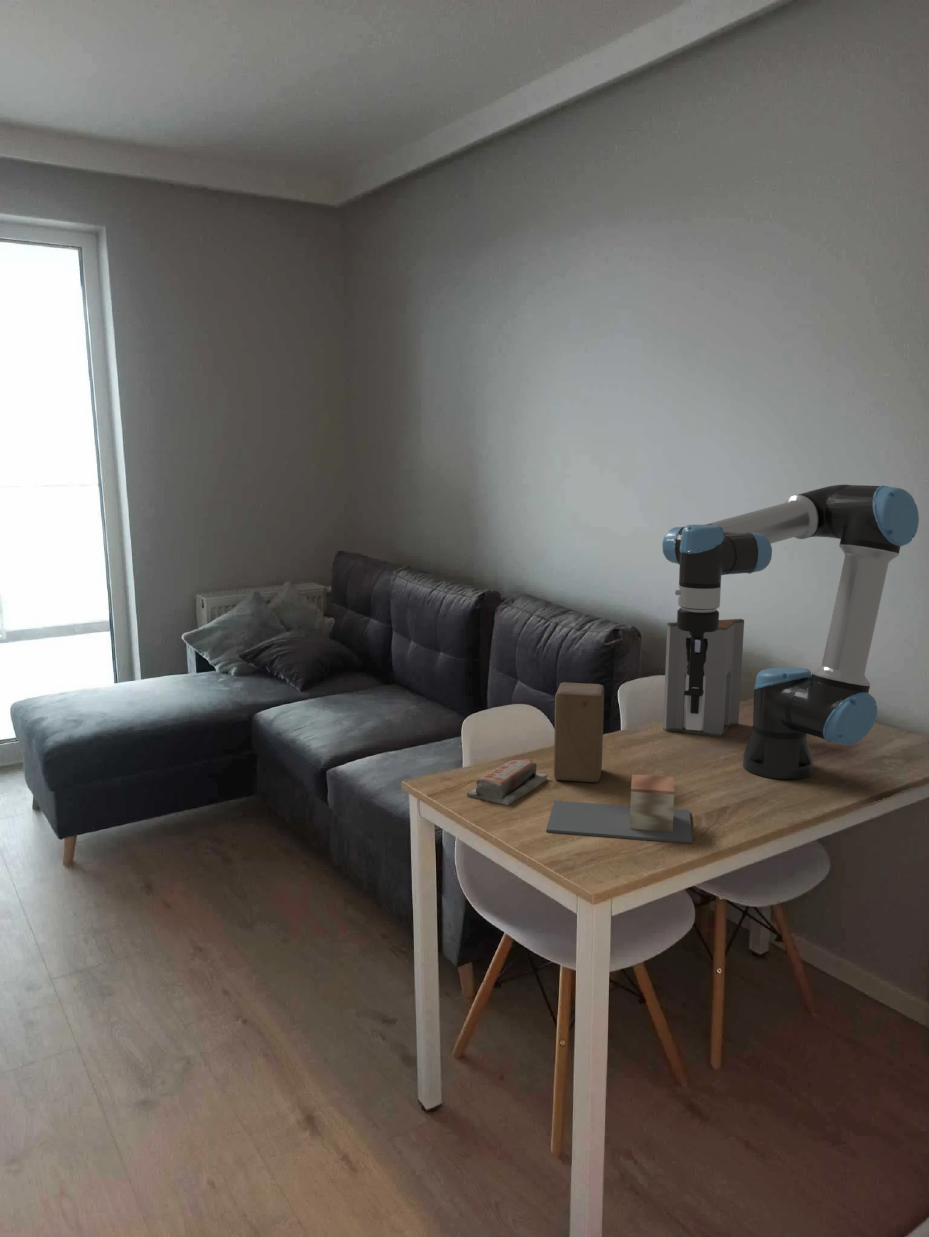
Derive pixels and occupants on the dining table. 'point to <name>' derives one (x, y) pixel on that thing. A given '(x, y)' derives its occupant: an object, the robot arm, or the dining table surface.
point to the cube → (652, 803)
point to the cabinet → (705, 678)
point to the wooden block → (578, 732)
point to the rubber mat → (612, 822)
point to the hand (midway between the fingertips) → (692, 719)
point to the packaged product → (508, 782)
